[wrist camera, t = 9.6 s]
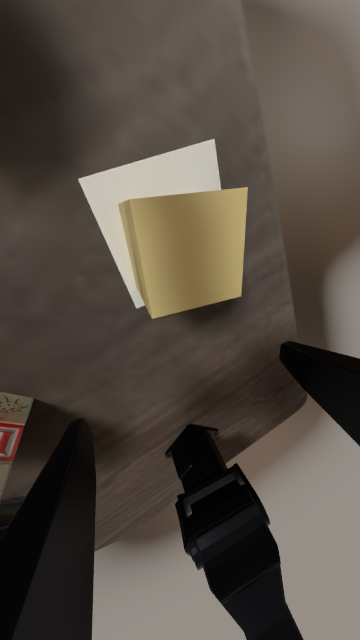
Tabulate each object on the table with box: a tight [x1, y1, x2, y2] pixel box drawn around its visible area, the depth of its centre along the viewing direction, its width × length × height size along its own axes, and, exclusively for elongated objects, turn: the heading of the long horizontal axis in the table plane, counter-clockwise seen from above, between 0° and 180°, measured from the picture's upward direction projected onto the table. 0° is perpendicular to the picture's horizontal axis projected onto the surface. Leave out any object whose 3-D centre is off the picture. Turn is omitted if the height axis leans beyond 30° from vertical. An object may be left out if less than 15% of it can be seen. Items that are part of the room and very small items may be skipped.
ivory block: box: [78, 139, 221, 308], centre depth 15 cm, size 8×8×4 cm
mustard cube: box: [118, 187, 248, 319], centre depth 11 cm, size 5×5×5 cm
